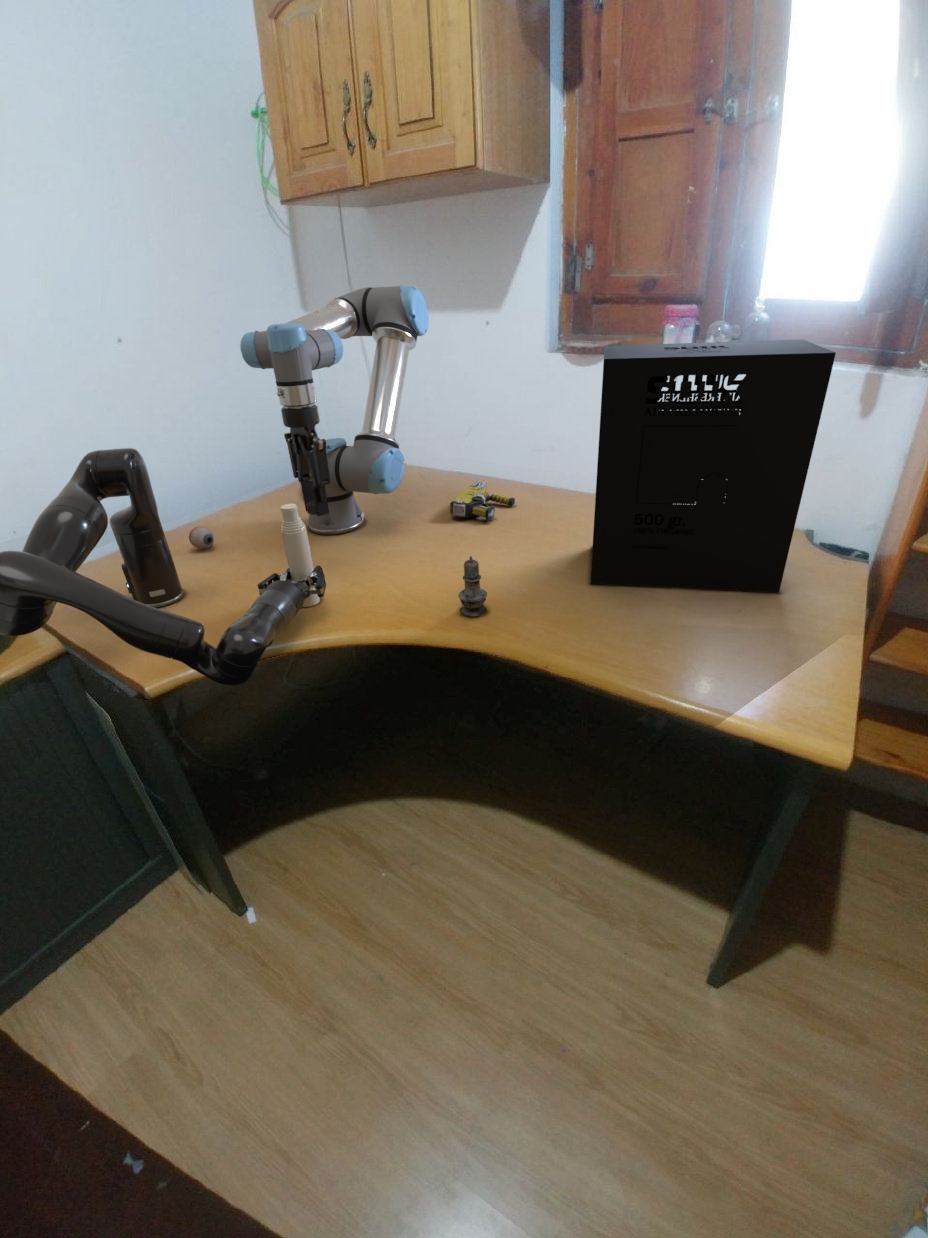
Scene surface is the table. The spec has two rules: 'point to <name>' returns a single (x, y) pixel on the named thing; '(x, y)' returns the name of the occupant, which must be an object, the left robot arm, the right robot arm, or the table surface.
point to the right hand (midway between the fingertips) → (317, 511)
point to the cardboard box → (704, 462)
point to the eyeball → (201, 537)
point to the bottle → (297, 547)
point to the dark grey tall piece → (472, 590)
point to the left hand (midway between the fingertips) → (307, 569)
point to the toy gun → (477, 502)
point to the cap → (311, 507)
